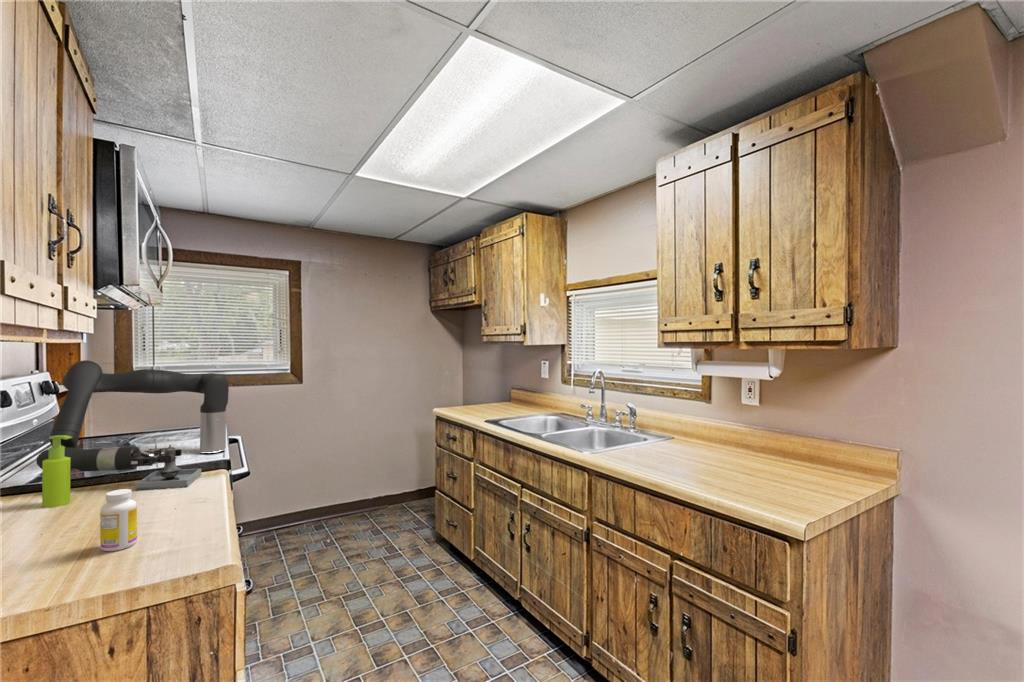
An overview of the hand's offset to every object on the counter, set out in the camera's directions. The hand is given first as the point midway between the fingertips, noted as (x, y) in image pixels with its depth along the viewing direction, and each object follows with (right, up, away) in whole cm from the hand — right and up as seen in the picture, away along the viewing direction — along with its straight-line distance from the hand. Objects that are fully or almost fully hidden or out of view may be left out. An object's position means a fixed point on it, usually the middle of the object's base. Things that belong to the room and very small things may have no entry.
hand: (176, 455), depth 160 cm
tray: (-2, -9, 0) cm, 9 cm away
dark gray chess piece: (-2, -8, 0) cm, 9 cm away
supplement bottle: (+20, -10, -48) cm, 53 cm away
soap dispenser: (-19, -9, -22) cm, 30 cm away
